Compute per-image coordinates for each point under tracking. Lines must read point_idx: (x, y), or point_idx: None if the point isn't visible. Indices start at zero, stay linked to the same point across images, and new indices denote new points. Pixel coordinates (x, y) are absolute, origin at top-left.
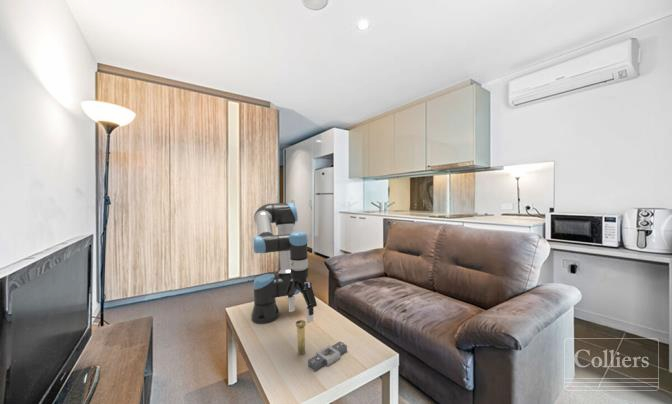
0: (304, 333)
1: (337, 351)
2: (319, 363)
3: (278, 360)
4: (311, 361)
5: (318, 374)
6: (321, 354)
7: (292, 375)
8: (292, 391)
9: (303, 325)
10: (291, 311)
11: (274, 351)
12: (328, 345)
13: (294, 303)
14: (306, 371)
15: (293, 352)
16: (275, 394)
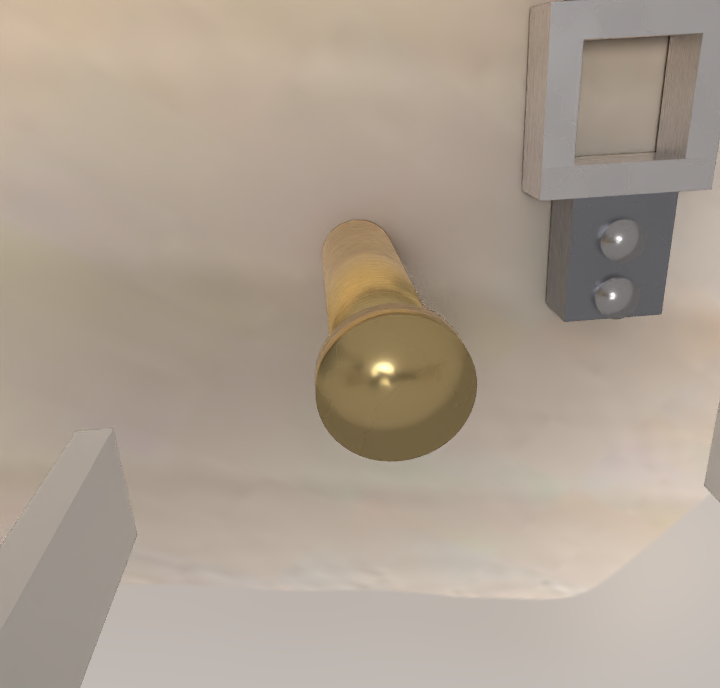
0: (419, 299)
1: (705, 2)
2: (664, 259)
3: (310, 445)
4: (616, 318)
5: (676, 288)
6: (603, 177)
7: (532, 435)
8: (645, 493)
9: (473, 381)
10: (129, 509)
11: (174, 425)
12: (552, 11)
13: (55, 538)
14: (578, 341)
15: (297, 307)
16: (583, 570)
